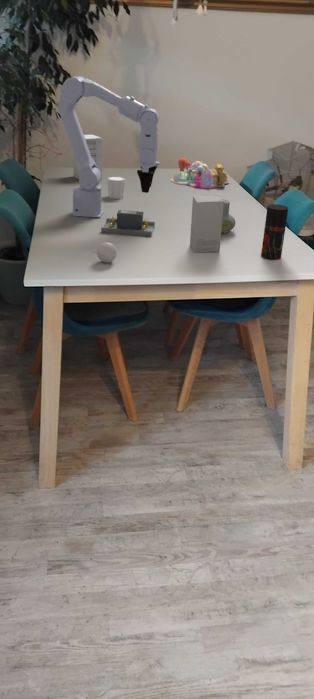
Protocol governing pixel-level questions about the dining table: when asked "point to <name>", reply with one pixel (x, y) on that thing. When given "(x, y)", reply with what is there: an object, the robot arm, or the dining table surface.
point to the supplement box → (95, 151)
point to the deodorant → (274, 231)
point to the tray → (112, 228)
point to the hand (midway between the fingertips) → (146, 189)
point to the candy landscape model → (199, 175)
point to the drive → (129, 220)
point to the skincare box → (206, 223)
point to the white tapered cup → (116, 187)
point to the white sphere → (106, 252)
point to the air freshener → (227, 218)
